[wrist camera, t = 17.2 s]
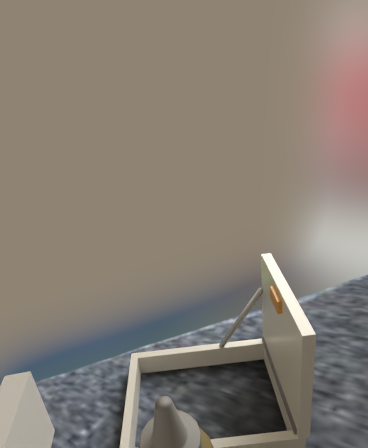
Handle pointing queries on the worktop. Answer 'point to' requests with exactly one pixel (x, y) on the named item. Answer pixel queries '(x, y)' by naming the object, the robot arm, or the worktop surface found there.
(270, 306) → the access hatch
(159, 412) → the squeeze bottle
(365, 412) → the worktop surface
